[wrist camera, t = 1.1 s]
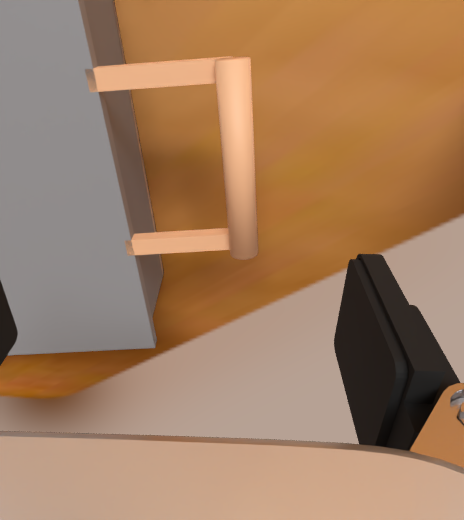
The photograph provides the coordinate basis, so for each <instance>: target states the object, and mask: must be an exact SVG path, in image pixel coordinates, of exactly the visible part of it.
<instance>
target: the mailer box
mask: <svg viewBox="0 0 464 520" xmlns="http://www.w3.org/2000/svg"><path fill="white" fill-rule="evenodd" d="M84 4H85V9H86V13H87V18H88V23H89V27H90V32H91V36H92V41H93V46H94V50H95V55H96V60H97V64H98V66H110V65H123V64H126V63H125V58H124V52H123V47H122V41H121V36H120V30H119V25H118V19H117V14H116V8H115V3H114V0H84ZM103 92H104V97H105V101H106V106H107V111H108V115H109V120H110V125H111V129H112V134H113V138H114V143H115V148H116V152H117V157H118V162H119V166H120V171H121V176H122V180H123V185H124V189H125V194H126V199H127V203H128V208H129V213H130V217H131V222H132V227H133V231H134V234H138V233H154V232H156V227H155V221H154V216H153V210H152V205H151V199H150V194H149V188H148V183H147V177H146V172H145V167H144V161H143V156H142V150H141V145H140V139H139V134H138V128H137V123H136V117H135V112H134V107H133V101H132V96H131V90H130V89H129V90H115V91H103ZM139 259H140V264H141V268H142V273H143V278H144V282H145V287H146V291H147V296H148V301H149V305H150V310H151V315H152V317H153V313H154V310H155V306H156V302H157V298H158V294H159V290H160V286H161V282H162V278H163V274H164V270H163V265H162V259H161V254H148V255H139Z"/></svg>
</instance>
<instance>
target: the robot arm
mask: <svg viewBox="0 0 464 520" xmlns="http://www.w3.org/2000/svg"><path fill="white" fill-rule="evenodd" d="M17 335H18V331H17V327H16V324H15V321H14V318H13V315H12V312H11V309H10V307H9V304H8V301H7V298H6V295H5V292H4V289H3V286H2V283H1V280H0V365H1V364H2V362H3V361H4V359H5V358H6V356H7V355H8V353H9V352H10V350H11V349H12V347H13V346H14V344H15V342H16V340H17ZM334 347H335V353H336V357H337V361H338V364H339V368H340V372H341V376H342V380H343V384H344V387H345V391H346V395H347V399H348V403H349V407H350V410H351V414H352V418H353V422H354V425H355V430H356V433H357V437H358V441H359V444H349V443H335V442H315V441H295V440H275V439H274V440H273V439H248V438H219V437H189V436H187V437H186V436H158V435H125V434H89V433H55V432H19V431H0V520H464V383H460V381H459V379H458V378H457V376H456V374H455V372H454V371H453V369H452V367H451V365H450V363H449V362H448V360H447V358H446V356H445V355H444V353H443V351H442V349H441V348H440V346H439V344H438V342H437V340H436V339H435V337H434V335H433V333H432V332H431V330H430V328H429V326H428V325H427V323H426V321H425V319H424V318H423V316H422V314H421V312H420V311H419V309H418V308H417V307H416V306H414V305H409V303H408V301H407V300H406V298H405V296H404V294H403V292H402V290H401V289H400V287H399V285H398V283H397V281H396V280H395V278H394V276H393V274H392V272H391V270H390V268H389V267H388V265H387V263H386V261H385V259H384V258H383V256H382V255H380V254H359V255H358V256H357V258H356V259H351V260H350V261H349V264H348V269H347V274H346V280H345V286H344V290H343V296H342V301H341V306H340V311H339V316H338V322H337V327H336V333H335V338H334Z"/></svg>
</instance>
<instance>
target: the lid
mask: <svg viewBox="0 0 464 520" xmlns="http://www.w3.org/2000/svg"><path fill="white" fill-rule="evenodd" d="M211 83H216V85H217V97H218V109H219V122H220V134H221V146H222V158H223V171H224V183H225V195H226V207H227V219H228V228H220V229H203V230H187V231H170V232H154V233H138V234H134V231H133V227H132V222H131V217H130V213H129V208H128V203H127V199H126V194H125V189H124V185H123V180H122V176H121V171H120V166H119V162H118V157H117V152H116V148H115V143H114V138H113V134H112V129H111V125H110V120H109V115H108V111H107V106H106V101H105V97H104V92H103V91H115V90H129V89H143V88H156V87H170V86H184V85H197V84H211ZM216 250H230V254H231V256H232V257H233V258H236V259H240V260H246V259H251V258H253V257H255V256H256V255H257V254H258V232H257V208H256V183H255V159H254V134H253V110H252V85H251V61H250V57H232V56H229V57H216V58H203V59H189V60H176V61H163V62H150V63H136V64H123V65H110V66H98V64H97V60H96V55H95V50H94V46H93V41H92V36H91V32H90V27H89V23H88V18H87V13H86V9H85V4H84V0H0V280H1V283H2V286H3V289H4V292H5V295H6V298H7V301H8V304H9V307H10V309H11V312H12V315H13V318H14V321H15V324H16V327H17V331H18V335H17V340H16V342H15V344H14V346H13V347H12V349H11V350H10V352H9V353H8V355H26V354H45V353H65V352H85V351H104V350H124V349H143V348H155V346H156V342H157V338H156V333H155V329H154V324H153V319H152V315H151V310H150V305H149V301H148V296H147V291H146V287H145V282H144V278H143V273H142V268H141V264H140V259H139V255H148V254H165V253H182V252H199V251H216Z"/></svg>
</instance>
